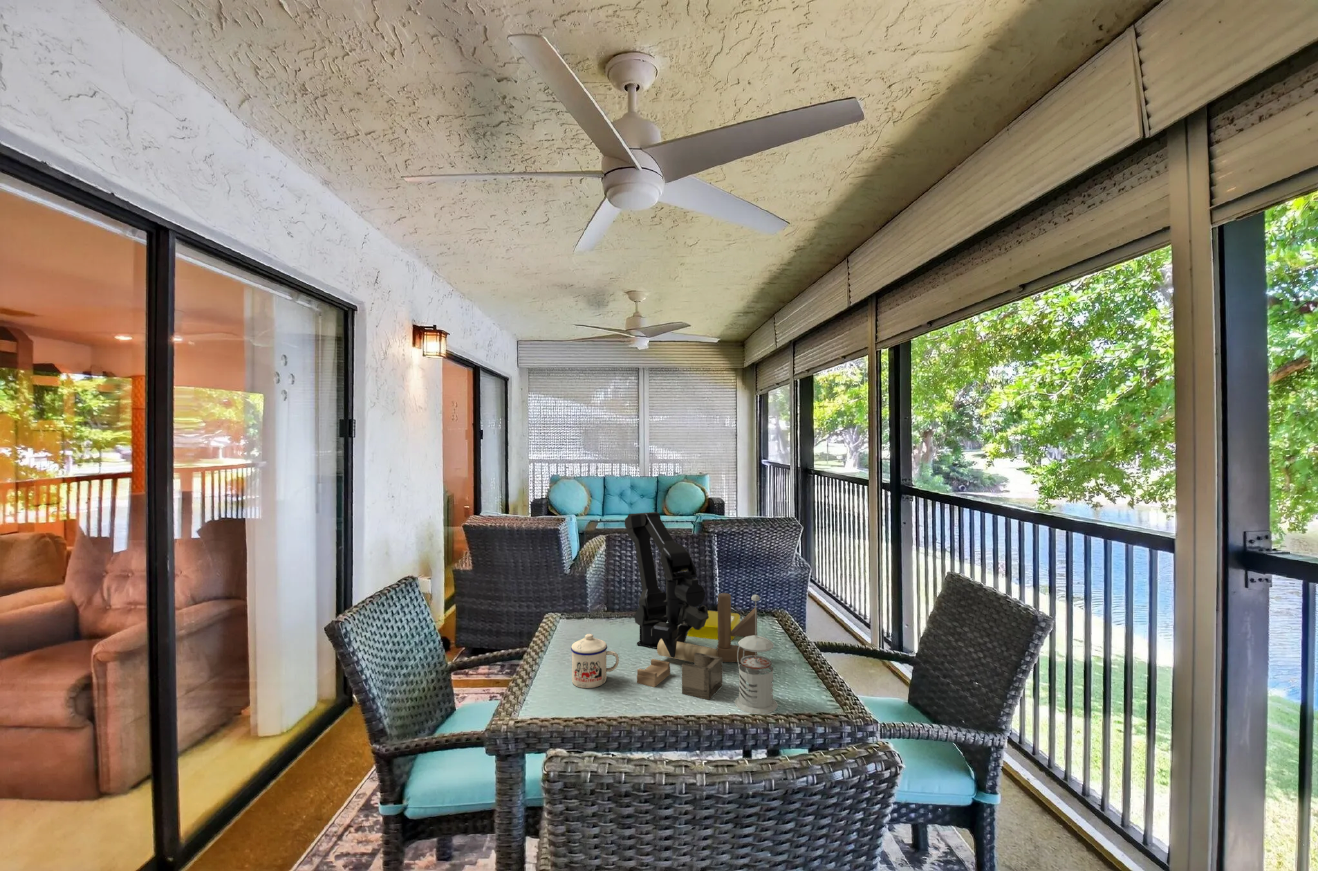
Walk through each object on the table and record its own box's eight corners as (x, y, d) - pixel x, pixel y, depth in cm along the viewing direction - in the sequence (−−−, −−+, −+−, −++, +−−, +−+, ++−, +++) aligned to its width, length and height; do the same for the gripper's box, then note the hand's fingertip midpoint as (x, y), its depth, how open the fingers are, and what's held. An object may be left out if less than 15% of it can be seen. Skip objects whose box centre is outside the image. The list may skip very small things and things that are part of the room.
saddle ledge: (636, 682, 140) (636, 670, 140) (653, 670, 147) (653, 658, 148) (654, 687, 138) (654, 674, 138) (670, 674, 145) (670, 661, 145)
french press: (749, 717, 123) (749, 602, 123) (722, 695, 133) (722, 589, 133) (786, 708, 127) (786, 597, 127) (757, 687, 137) (757, 585, 137)
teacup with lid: (569, 689, 137) (569, 641, 137) (572, 673, 146) (572, 629, 146) (618, 688, 137) (618, 640, 137) (619, 672, 146) (619, 627, 146)
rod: (657, 657, 153) (657, 641, 153) (664, 652, 157) (664, 636, 157) (711, 668, 146) (711, 651, 146) (717, 663, 150) (717, 646, 150)
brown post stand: (757, 663, 152) (757, 596, 152) (717, 662, 153) (717, 596, 153) (756, 658, 156) (755, 593, 156) (717, 657, 156) (716, 592, 156)
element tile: (732, 642, 169) (732, 626, 169) (684, 637, 173) (684, 621, 173) (741, 626, 183) (740, 611, 183) (696, 622, 187) (696, 607, 187)
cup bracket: (682, 693, 134) (681, 664, 134) (696, 680, 142) (696, 652, 142) (708, 700, 131) (708, 669, 131) (722, 685, 138) (722, 657, 138)
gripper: (688, 610, 141) (688, 672, 141) (717, 592, 157) (717, 647, 157) (649, 604, 146) (650, 664, 146) (681, 587, 163) (681, 641, 163)
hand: (676, 653), depth 153 cm, fingers closed on rod, 4 cm apart
